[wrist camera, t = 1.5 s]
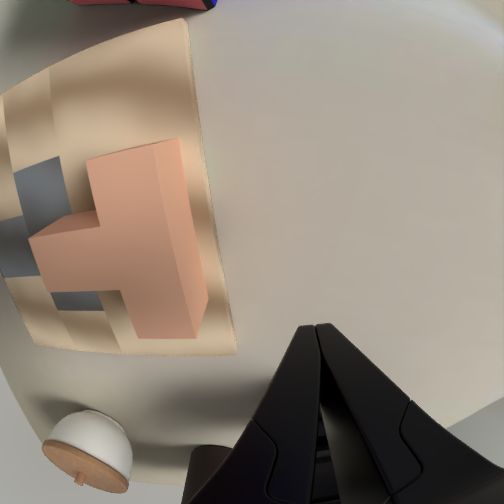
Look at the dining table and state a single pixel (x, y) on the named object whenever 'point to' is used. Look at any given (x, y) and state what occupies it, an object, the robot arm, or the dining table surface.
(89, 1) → the puzzle cube
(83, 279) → the t block
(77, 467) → the lidded jar
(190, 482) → the bottle
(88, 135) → the board
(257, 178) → the dining table surface
